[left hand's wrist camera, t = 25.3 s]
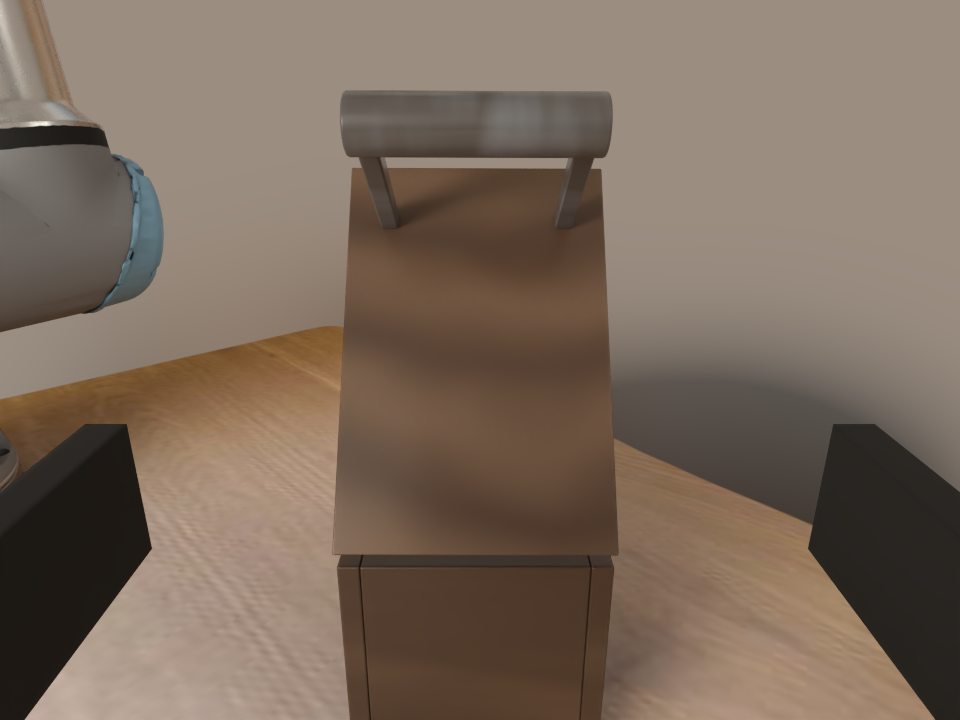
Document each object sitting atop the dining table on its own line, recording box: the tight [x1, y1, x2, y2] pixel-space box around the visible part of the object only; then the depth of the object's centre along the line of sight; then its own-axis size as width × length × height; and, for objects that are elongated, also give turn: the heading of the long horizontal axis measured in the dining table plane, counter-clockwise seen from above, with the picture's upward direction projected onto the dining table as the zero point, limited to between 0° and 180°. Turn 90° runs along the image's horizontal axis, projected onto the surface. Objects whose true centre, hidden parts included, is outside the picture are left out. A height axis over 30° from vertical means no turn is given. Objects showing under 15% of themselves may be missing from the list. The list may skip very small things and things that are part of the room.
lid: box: [333, 91, 619, 555], centre depth 22 cm, size 15×10×9 cm
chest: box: [337, 555, 614, 720], centre depth 33 cm, size 15×10×10 cm
